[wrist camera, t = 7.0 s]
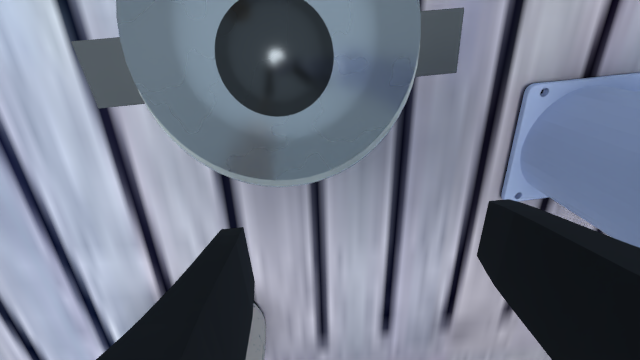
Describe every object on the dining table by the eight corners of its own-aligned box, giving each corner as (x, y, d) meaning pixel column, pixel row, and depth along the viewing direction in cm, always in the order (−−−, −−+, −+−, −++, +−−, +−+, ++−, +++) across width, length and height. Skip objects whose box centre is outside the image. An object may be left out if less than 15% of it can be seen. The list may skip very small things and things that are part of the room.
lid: (436, -117, 10) (545, -217, 6) (387, 170, 14) (429, 228, 10) (94, -160, 8) (-75, -327, 4) (159, 169, 13) (103, 233, 9)
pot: (424, -96, 14) (491, -154, 9) (410, 135, 19) (450, 169, 14) (91, -74, 13) (-10, -127, 8) (169, 162, 18) (132, 207, 13)
